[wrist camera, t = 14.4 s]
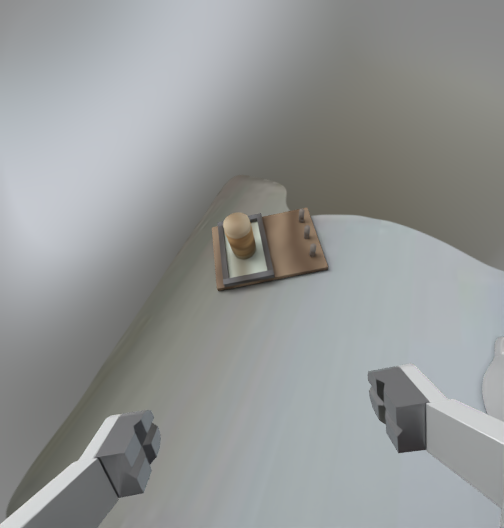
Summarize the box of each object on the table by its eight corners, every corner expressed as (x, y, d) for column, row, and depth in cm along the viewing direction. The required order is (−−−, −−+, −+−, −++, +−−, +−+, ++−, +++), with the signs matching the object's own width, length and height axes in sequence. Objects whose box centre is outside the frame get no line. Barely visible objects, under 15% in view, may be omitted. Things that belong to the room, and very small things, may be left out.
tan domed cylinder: (254, 237, 47) (248, 209, 40) (258, 257, 45) (252, 231, 38) (231, 241, 47) (221, 215, 40) (234, 261, 45) (223, 237, 38)
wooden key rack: (306, 210, 50) (308, 196, 46) (327, 269, 43) (330, 258, 39) (213, 230, 51) (207, 218, 47) (218, 290, 44) (212, 281, 40)
